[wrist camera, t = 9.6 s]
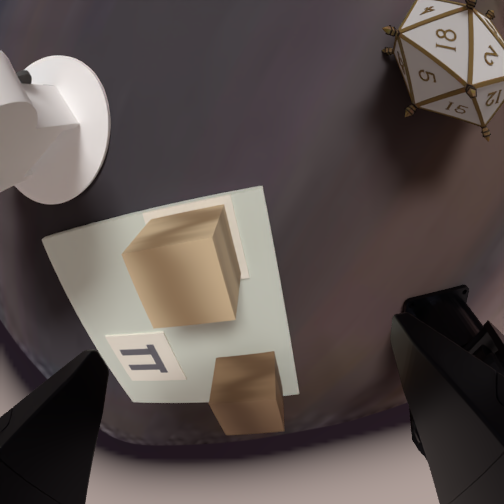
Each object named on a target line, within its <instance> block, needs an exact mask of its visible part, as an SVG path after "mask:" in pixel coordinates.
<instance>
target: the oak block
mask: <svg viewBox="0 0 504 504" xmlns="http://www.w3.org/2000/svg"><path fill="white" fill-rule="evenodd" d="M121 255H122V257H123V260H124V262H125V265H126V267H127V270H128V272H129V274H130V277H131V279H132V282H133V284H134V286H135V289H136V291H137V293H138V296H139V298H140V300H141V302H142V305H143V307H144V309H145V311H146V313H147V316H148V318H149V320H150V322H151V324H152V326H153V328H166V327H176V326H187V325H196V324H205V323H214V322H223V321H231V320H236V313H237V304H238V295H239V286H240V278H241V271H240V267H239V263H238V259H237V255H236V251H235V247H234V243H233V239H232V235H231V231H230V227H229V223H228V218H227V214H226V210H225V206H224V204H222V205H217V206H212V207H207V208H202V209H197V210H192V211H187V212H182V213H178V214H173V215H168V216H164V217H159V218H154V219H151V220H150V221H149V222H148V223H147V224H146V225H145V227H144V228H143V229H142V230H141V231H140V232H139V234H138V235H137V236H136V237H135V238H134V240H133V241H132V242H131V243H130V244H129V246H128V247H127V248H126V249H125V251H124V252H123V253H122V254H121Z"/></svg>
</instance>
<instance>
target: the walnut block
mask: <svg viewBox="0 0 504 504" xmlns="http://www.w3.org/2000/svg"><path fill="white" fill-rule="evenodd" d="M209 405H210V407H211V409H212V411H213V413H214V415H215V416H216V418H217V420H218V422H219V424H220V425H221V427H222V429H223V431H224V432H225V434H226V435H242V434H257V433H269V432H280V431H284V408H283V387H282V383H281V378H280V374H279V369H278V365H277V361H276V356H275V352H274V351H271V352H264V353H256V354H247V355H238V356H229V357H218V358H216V361H215V368H214V374H213V380H212V386H211V393H210V399H209Z"/></svg>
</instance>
